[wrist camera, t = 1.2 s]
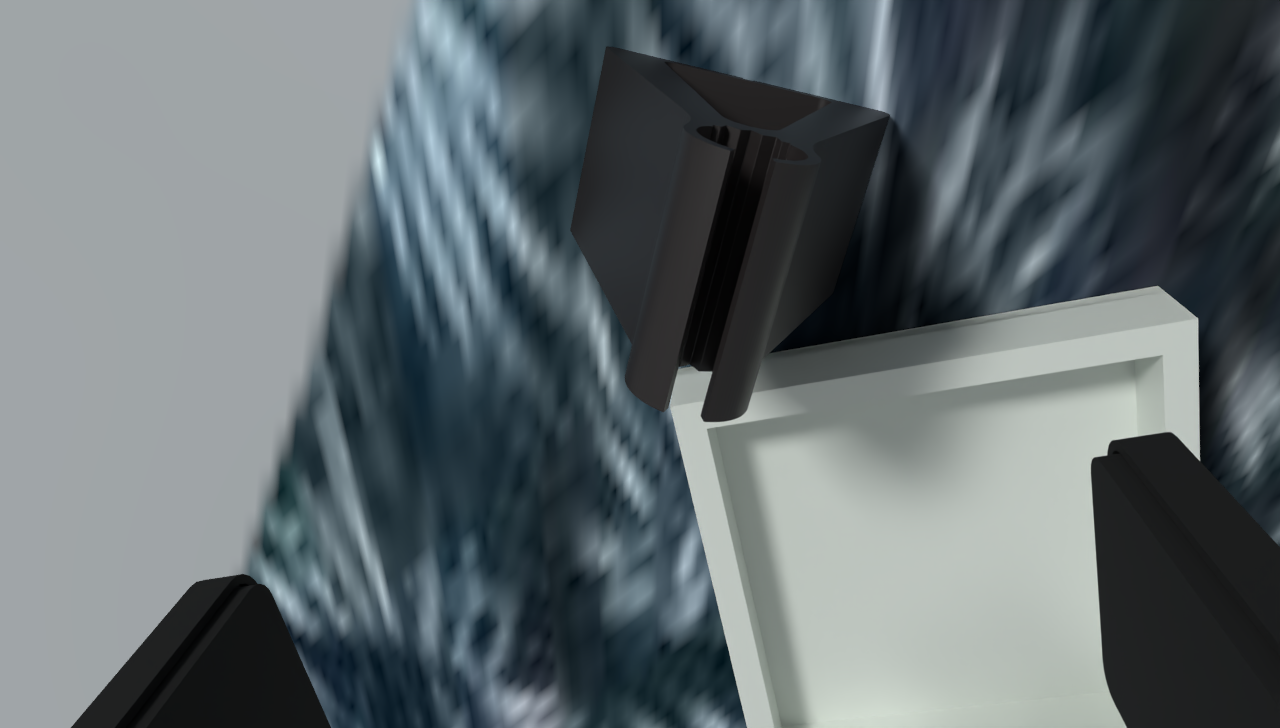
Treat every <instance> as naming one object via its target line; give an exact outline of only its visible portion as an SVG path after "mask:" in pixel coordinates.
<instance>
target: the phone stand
mask: <svg viewBox="0 0 1280 728" xmlns="http://www.w3.org/2000/svg"><path fill="white" fill-rule="evenodd" d="M889 117H890V115H889V114H887V113H885V112H882V111H878V110H874V109H870V108H866V107H861V106H857V105H853V104H849V103H845V102H841V101H836V100H832V99H828V98H824V97H820V96H815V95H811V94H807V93H803V92H799V91H795V90H790V89H786V88H782V87H778V86H774V85H770V84H765V83H761V82H757V81H750V80H746V79H743V78H740V77H736V76H732V75H728V74H724V73H720V72H715V71H711V70H707V69H703V68H699V67H695V66H690V65H686V64H682V63H678V62H674V61H670V60H665V59H661V58H657V57H653V56H649V55H645V54H640V53H636V52H632V51H628V50H624V49H620V48H615V47H606V50H605V55H604V60H603V65H602V71H601V76H600V81H599V86H598V91H597V96H596V101H595V107H594V112H593V117H592V122H591V127H590V132H589V137H588V142H587V148H586V153H585V158H584V163H583V168H582V173H581V178H580V184H579V189H578V194H577V199H576V204H575V209H574V214H573V219H572V225H571V230H570V231H571V232H572V234H573V236H574V238H575V240H576V242H577V244H578V245H579V247H580V249H581V251H582V253H583V255H584V256H585V258H586V260H587V262H588V264H589V266H590V267H591V269H592V271H593V273H594V275H595V277H596V279H597V280H598V282H599V284H600V286H601V288H602V290H603V291H604V293H605V295H606V297H607V299H608V301H609V303H610V304H611V306H612V308H613V310H614V312H615V314H616V315H617V317H618V319H619V321H620V323H621V325H622V327H623V328H624V330H625V332H626V334H627V336H628V338H629V339H630V341H631V343H632V349H631V353H630V357H629V361H628V366H627V370H626V374H625V382H626V385H627V387H628V388H629V390H630V391H631V392H632V393H633V394H634V395H635V396H636V397H637V398H639V399H640V400H641V401H643V402H644V403H646V404H648V405H649V406H651V407H653V408H655V409H657V410H659V411H662V412H664V411H665V410H666V409H667V408H668V406H669V402H670V399H671V395H672V391H673V387H674V383H675V379H676V375H677V371H678V368H679V367H681V366H685V365H689V364H690V365H691V366H693V367H694V368H695V369H696V370H698V371H703V372H712V375H711V379H710V382H709V386H708V390H707V393H706V397H705V401H704V404H703V408H702V412H701V415H700V416H701V418H702V419H703V421H704V422H725V421H730V420H734V419H737V418H739V417H741V416H742V415H743V414H745V412H746V411H747V409H748V406H749V402H750V399H751V396H752V392H753V389H754V386H755V382H756V379H757V376H758V372H759V369H760V365H761V362H762V359H763V358H765V357H766V356H767V355H768V354H769V353H770V352H771V351H772V350H773V349H774V348H775V347H776V346H777V345H778V344H780V343H781V342H782V341H783V340H784V339H785V338H786V337H787V336H788V335H789V334H790V333H791V332H792V331H793V330H794V329H796V328H797V327H798V326H799V325H800V324H801V323H802V322H803V321H804V320H805V319H806V318H807V317H808V316H809V315H810V314H812V313H813V312H814V311H815V310H816V309H817V308H818V307H819V306H820V305H821V304H822V303H823V302H824V301H825V300H826V299H828V298H829V297H830V296H831V295H832V294H833V292H834V289H835V286H836V282H837V279H838V276H839V273H840V270H841V267H842V264H843V261H844V257H845V254H846V251H847V248H848V245H849V242H850V239H851V236H852V233H853V229H854V226H855V223H856V220H857V217H858V214H859V211H860V208H861V204H862V201H863V198H864V195H865V192H866V189H867V186H868V183H869V179H870V176H871V173H872V170H873V167H874V164H875V161H876V158H877V154H878V151H879V148H880V145H881V142H882V139H883V136H884V133H885V129H886V126H887V123H888V120H889Z"/></svg>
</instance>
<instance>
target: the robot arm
mask: <svg viewBox="0 0 1280 728" xmlns="http://www.w3.org/2000/svg"><path fill="white" fill-rule="evenodd" d="M1091 484H1092V500H1093V516H1094V532H1095V547H1096V563H1097V579H1098V595H1099V611H1100V626H1101V642H1102V658H1103V668H1104V674H1105V678H1106V682H1107V686H1108V689H1109V692H1110V694H1111V697H1112V699H1113V701H1114V704H1115V706H1116V708H1117V709H1118V711H1119V713H1120V715H1121V717H1122V719H1123V721H1124V723H1125V725H1126V727H1127V728H1280V547H1279V546H1278V545H1277V544H1276V543H1275V542H1274V541H1273V540H1272V538H1271V537H1270V536H1269V535H1268V534H1267V533H1266V532H1265V531H1264V530H1263V529H1262V528H1261V527H1260V525H1259V524H1258V523H1257V522H1256V521H1255V520H1254V519H1253V518H1252V517H1251V516H1250V515H1249V514H1248V513H1247V511H1246V510H1245V509H1244V508H1243V507H1242V506H1241V505H1240V504H1239V503H1238V502H1237V501H1236V500H1235V499H1234V497H1233V496H1232V495H1231V494H1230V493H1229V492H1228V491H1227V490H1226V489H1225V488H1224V487H1223V486H1222V484H1221V483H1220V482H1219V481H1218V480H1217V479H1216V478H1215V477H1214V476H1213V475H1212V474H1211V473H1210V472H1209V470H1208V469H1207V468H1206V467H1205V466H1204V465H1203V464H1202V463H1201V462H1200V461H1199V460H1198V459H1197V458H1196V456H1195V455H1194V454H1193V453H1192V452H1191V451H1190V450H1189V449H1188V448H1187V447H1186V446H1185V445H1184V443H1183V442H1182V441H1181V440H1180V439H1179V438H1178V437H1177V436H1176V435H1174V434H1173V433H1172V432H1164V433H1157V434H1151V435H1144V436H1138V437H1131V438H1125V439H1118V440H1112V441H1111V442H1110V444H1109V447H1108V451H1107V456H1100V457H1094V458H1093V459H1092V462H1091ZM71 728H331V727H330V725H329V722H328V720H327V718H326V716H325V713H324V711H323V709H322V707H321V704H320V702H319V700H318V697H317V695H316V693H315V691H314V688H313V686H312V684H311V682H310V679H309V677H308V675H307V673H306V670H305V668H304V666H303V663H302V661H301V659H300V657H299V654H298V652H297V650H296V648H295V645H294V643H293V641H292V639H291V636H290V634H289V632H288V630H287V627H286V625H285V623H284V620H283V618H282V616H281V614H280V611H279V609H278V607H277V605H276V602H275V600H274V598H273V596H272V594H271V592H270V590H269V589H268V588H267V587H266V586H265V585H262V584H257V583H256V581H255V580H254V579H253V578H251V577H250V576H248V575H244V574H241V575H235V576H228V577H222V578H215V579H209V580H203V581H199V582H196V583H195V584H193V585H192V586H191V587H190V588H189V589H188V590H187V592H186V593H185V594H184V595H183V596H182V597H181V599H180V600H179V601H178V602H177V604H175V606H174V607H173V608H172V609H171V611H170V612H169V613H168V614H167V615H166V616H165V617H164V619H163V620H162V621H161V622H160V623H159V625H158V626H157V627H156V628H155V629H154V630H153V632H152V633H151V634H150V635H149V636H148V637H147V639H146V640H145V641H144V642H143V644H142V645H141V646H140V647H139V648H138V649H137V650H136V652H135V653H134V654H133V655H132V656H131V658H130V659H129V660H128V661H127V662H126V664H125V665H124V666H123V667H122V668H121V669H120V670H119V672H118V673H117V674H116V675H115V676H114V678H113V679H112V680H111V681H110V682H109V683H108V685H107V686H106V687H105V688H104V689H103V690H102V692H101V693H100V694H99V695H98V696H97V698H96V699H95V700H94V701H93V702H92V704H91V705H90V706H89V707H88V708H87V709H86V711H85V712H84V713H83V714H82V715H81V716H80V718H79V719H78V720H77V721H76V722H75V724H74V725H73V726H72V727H71Z"/></svg>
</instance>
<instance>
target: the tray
mask: <svg viewBox="0 0 1280 728" xmlns="http://www.w3.org/2000/svg"><path fill="white" fill-rule="evenodd" d="M711 375H712V372H703V371H698V370H696V369H695V368H694V367H687V368H682V369H678V371H677V375H676V379H675V383H674V387H673V392H672V398H671V405H670V408H671V412H672V416H673V420H674V424H675V428H676V433H677V437H678V441H679V445H680V449H681V453H682V458H683V462H684V466H685V470H686V474H687V478H688V483H689V487H690V491H691V495H692V499H693V504H694V508H695V512H696V516H697V520H698V524H699V529H700V533H701V537H702V541H703V545H704V549H705V554H706V558H707V562H708V566H709V570H710V574H711V579H712V583H713V587H714V591H715V595H716V600H717V604H718V608H719V612H720V616H721V620H722V625H723V629H724V633H725V637H726V641H727V645H728V650H729V654H730V658H731V662H732V666H733V670H734V675H735V679H736V683H737V687H738V691H739V696H740V700H741V704H742V708H743V712H744V716H745V721H746V725H747V728H1127V727H1126V725H1125V723H1124V721H1123V719H1122V717H1121V715H1120V713H1119V711H1118V709H1117V708H1116V706H1115V704H1114V701H1113V699H1112V697H1111V694H1110V692H1109V689H1108V686H1107V682H1106V678H1105V674H1104V668H1103V658H1102V642H1101V626H1100V611H1099V595H1098V579H1097V563H1096V547H1095V532H1094V516H1093V500H1092V484H1091V462H1092V459H1093V458H1094V457H1100V456H1107V451H1108V447H1109V444H1110V442H1111V441H1112V440H1118V439H1125V438H1131V437H1138V436H1144V435H1151V434H1157V433H1164V432H1172V433H1173V434H1174V435H1176V436H1177V437H1178V438H1179V439H1180V440H1181V441H1182V442H1183V443H1184V445H1185V446H1186V447H1187V448H1188V449H1189V450H1190V451H1191V452H1192V453H1193V454H1194V455H1195V456H1196V458H1197V459H1198V460H1199V461H1200V429H1199V353H1198V318H1197V317H1195V316H1194V315H1193V314H1192V313H1191V312H1189V311H1188V310H1187V309H1186V308H1184V307H1183V306H1182V305H1181V304H1180V303H1178V302H1177V301H1176V300H1175V299H1173V298H1172V297H1171V296H1170V295H1168V294H1167V293H1166V292H1165V291H1164V290H1162V289H1161V288H1160V287H1159V286H1155V287H1149V288H1143V289H1137V290H1132V291H1126V292H1120V293H1114V294H1109V295H1103V296H1097V297H1091V298H1085V299H1080V300H1074V301H1068V302H1062V303H1057V304H1051V305H1045V306H1039V307H1034V308H1028V309H1022V310H1016V311H1010V312H1005V313H999V314H993V315H987V316H982V317H976V318H970V319H964V320H959V321H953V322H947V323H941V324H935V325H930V326H924V327H918V328H912V329H907V330H901V331H895V332H889V333H884V334H878V335H872V336H866V337H860V338H855V339H849V340H843V341H837V342H832V343H826V344H820V345H814V346H809V347H803V348H797V349H791V350H786V351H780V352H774V353H769V354H768V355H767V356H766V357H765V358H763V359H762V362H761V365H760V369H759V372H758V376H757V379H756V382H755V386H754V389H753V392H752V396H751V399H750V402H749V406H748V409H747V411H746V412H745V414H743V415H742V416H741V417H739V418H737V419H734V420H730V421H725V422H704V421H703V419H702V418H701V416H700V415H701V412H702V408H703V404H704V401H705V397H706V393H707V390H708V386H709V382H710V379H711Z"/></svg>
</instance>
